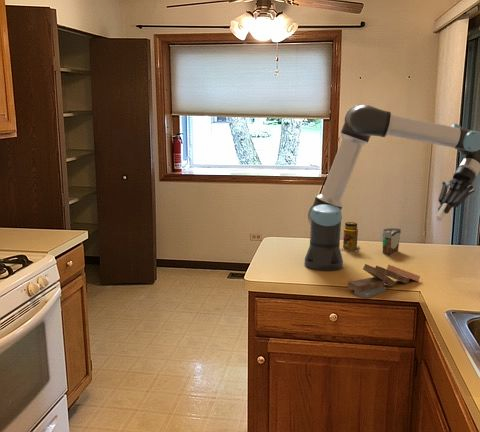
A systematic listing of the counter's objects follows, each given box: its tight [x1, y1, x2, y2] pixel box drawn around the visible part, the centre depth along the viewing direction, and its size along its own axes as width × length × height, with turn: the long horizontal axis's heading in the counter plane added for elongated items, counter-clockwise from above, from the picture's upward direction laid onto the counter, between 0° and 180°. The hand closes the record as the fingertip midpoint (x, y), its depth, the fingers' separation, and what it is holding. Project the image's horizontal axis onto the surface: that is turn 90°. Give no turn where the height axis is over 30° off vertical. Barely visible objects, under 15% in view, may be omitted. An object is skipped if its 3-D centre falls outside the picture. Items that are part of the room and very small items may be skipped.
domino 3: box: [353, 286, 387, 299], centre depth 181 cm, size 2×5×12 cm
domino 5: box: [386, 264, 421, 282], centre depth 193 cm, size 2×5×12 cm
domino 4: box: [374, 265, 410, 285], centre depth 190 cm, size 2×5×12 cm
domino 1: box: [362, 263, 396, 288], centre depth 186 cm, size 2×5×12 cm
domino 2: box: [347, 276, 386, 292], centre depth 183 cm, size 2×5×12 cm
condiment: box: [340, 221, 361, 253], centre depth 236 cm, size 7×8×12 cm
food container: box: [381, 227, 402, 257], centre depth 232 cm, size 12×6×10 cm, turn 144°
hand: (438, 218), depth 202 cm, fingers closed
